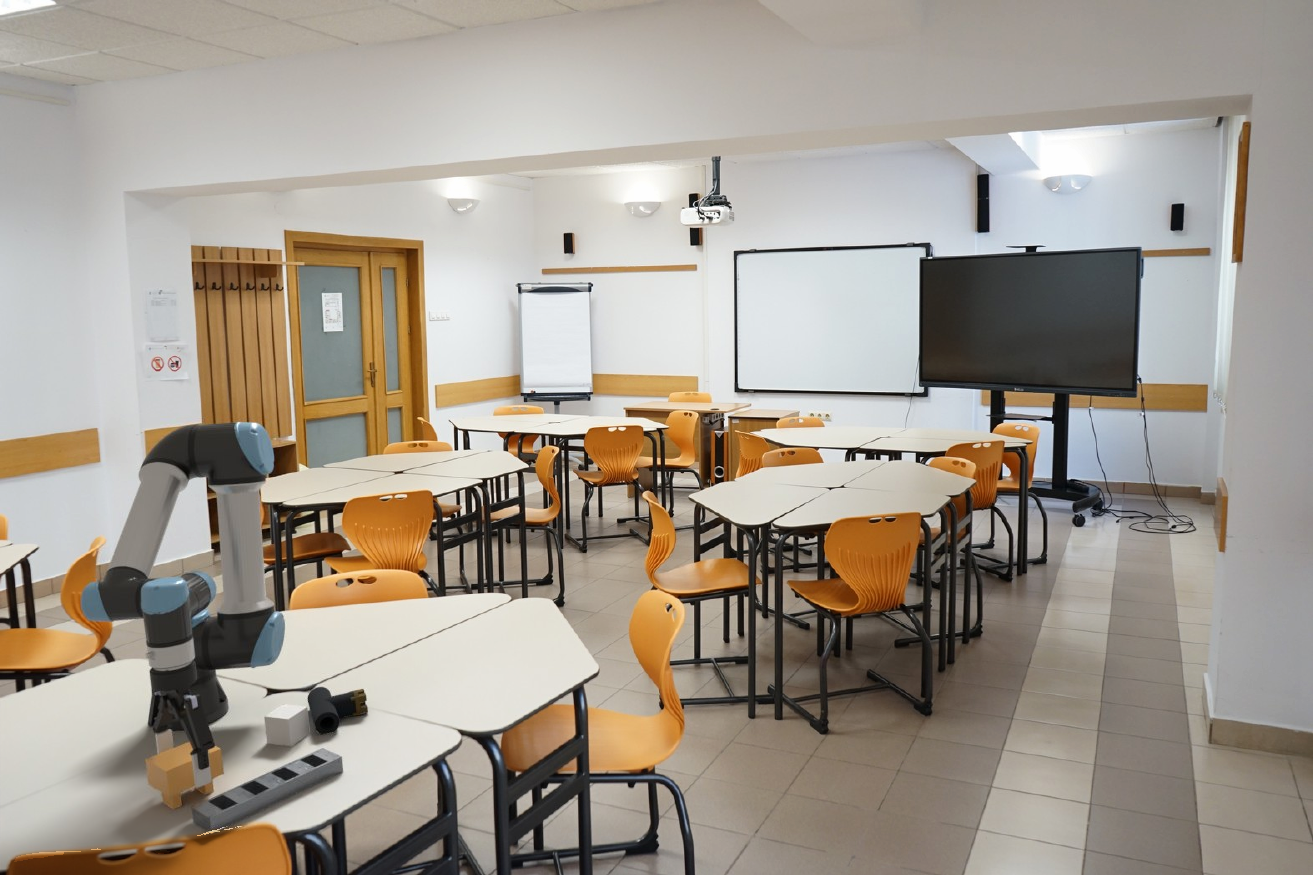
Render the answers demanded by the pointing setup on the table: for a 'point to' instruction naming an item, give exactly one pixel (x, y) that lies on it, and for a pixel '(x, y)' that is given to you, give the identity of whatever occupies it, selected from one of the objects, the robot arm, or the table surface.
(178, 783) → the tan notched block
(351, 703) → the pipe connector
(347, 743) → the table surface
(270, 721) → the white cube
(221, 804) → the rail
